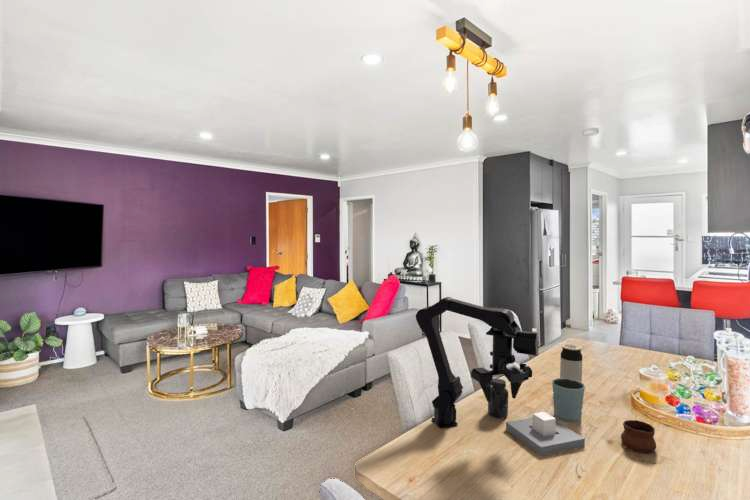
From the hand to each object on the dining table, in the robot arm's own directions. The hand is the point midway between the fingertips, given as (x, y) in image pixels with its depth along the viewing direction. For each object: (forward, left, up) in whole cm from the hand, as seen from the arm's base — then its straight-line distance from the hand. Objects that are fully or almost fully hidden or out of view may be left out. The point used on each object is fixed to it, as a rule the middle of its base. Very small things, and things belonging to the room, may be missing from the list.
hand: (501, 399), depth 123 cm
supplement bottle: (+9, +14, -12) cm, 21 cm away
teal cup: (+31, +5, -12) cm, 34 cm away
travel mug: (+51, +24, -12) cm, 58 cm away
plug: (+13, -4, -12) cm, 18 cm away
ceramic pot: (+37, -17, -13) cm, 42 cm away
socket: (+13, -4, -12) cm, 18 cm away
